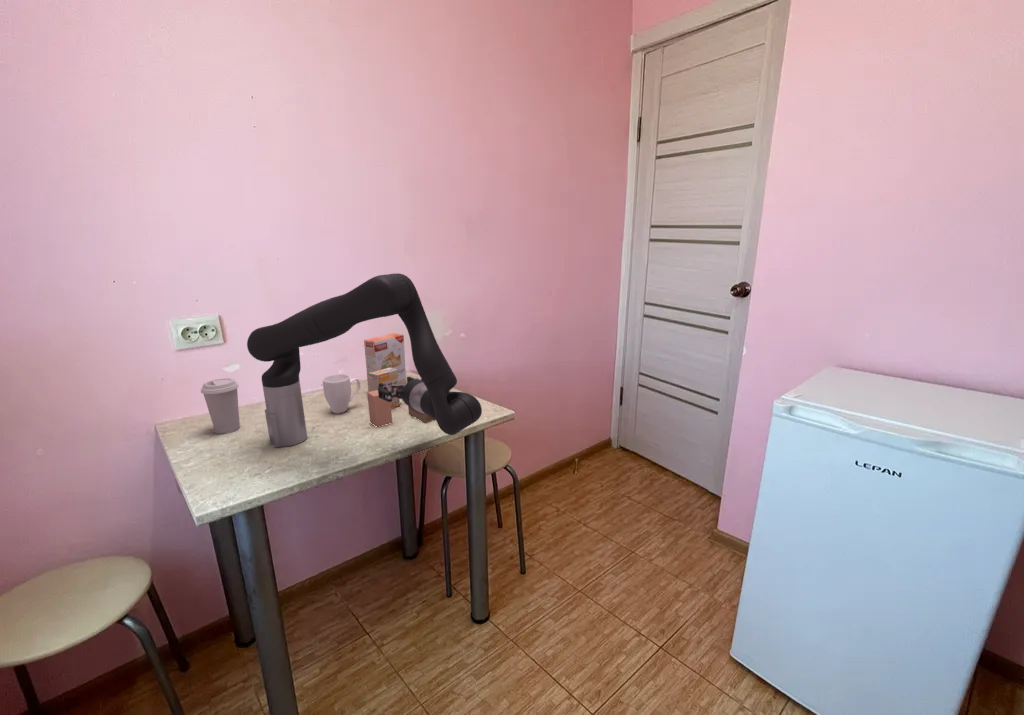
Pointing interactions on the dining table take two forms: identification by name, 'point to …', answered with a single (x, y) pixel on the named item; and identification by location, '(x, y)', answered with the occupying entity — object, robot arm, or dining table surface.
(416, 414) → the walnut base
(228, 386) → the coffee cup
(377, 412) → the terracotta block
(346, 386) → the mug
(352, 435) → the dining table surface
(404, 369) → the cracker box
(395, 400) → the supplement box
